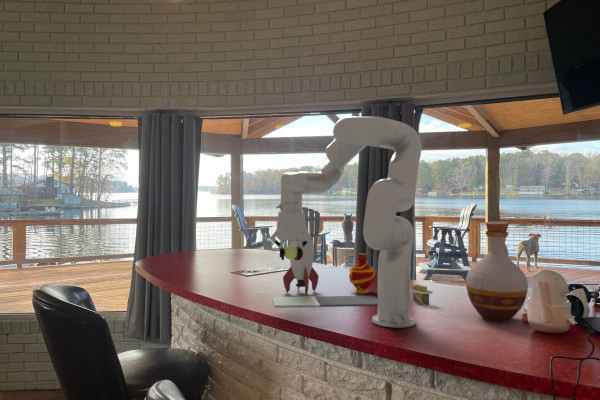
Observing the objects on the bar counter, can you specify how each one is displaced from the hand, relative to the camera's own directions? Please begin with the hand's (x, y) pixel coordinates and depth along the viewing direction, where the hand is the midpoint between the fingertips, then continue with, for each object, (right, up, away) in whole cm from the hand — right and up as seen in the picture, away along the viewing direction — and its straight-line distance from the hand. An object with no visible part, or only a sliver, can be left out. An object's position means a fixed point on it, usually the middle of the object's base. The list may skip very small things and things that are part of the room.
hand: (290, 259), depth 169 cm
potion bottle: (+28, -16, +20) cm, 38 cm away
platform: (+46, -16, +1) cm, 48 cm away
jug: (+65, -16, -20) cm, 69 cm away
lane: (+13, -15, +1) cm, 20 cm away
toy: (+4, -15, +18) cm, 24 cm away
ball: (0, +2, 0) cm, 2 cm away
